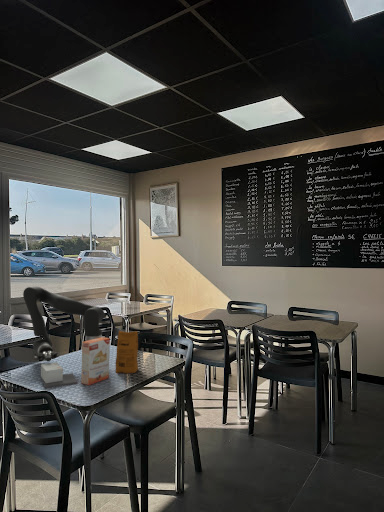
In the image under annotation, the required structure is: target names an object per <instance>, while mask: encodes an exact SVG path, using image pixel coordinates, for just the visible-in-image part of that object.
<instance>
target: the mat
mask: <svg viewBox="0 0 384 512" xmlns="http://www.w3.org/2000/svg"><path fill="white" fill-rule="evenodd" d="M41 380H42V383H43V387H44V389H50V388H55V387H57V388H58V387H62V386H64V387H65V386H70V385H77V384H78V380H77V378H76V377H75V375H74V373H73V372H71V373H63V381H58V382H52V383H45V381H44V380H43V379H42V378H41Z"/></svg>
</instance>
